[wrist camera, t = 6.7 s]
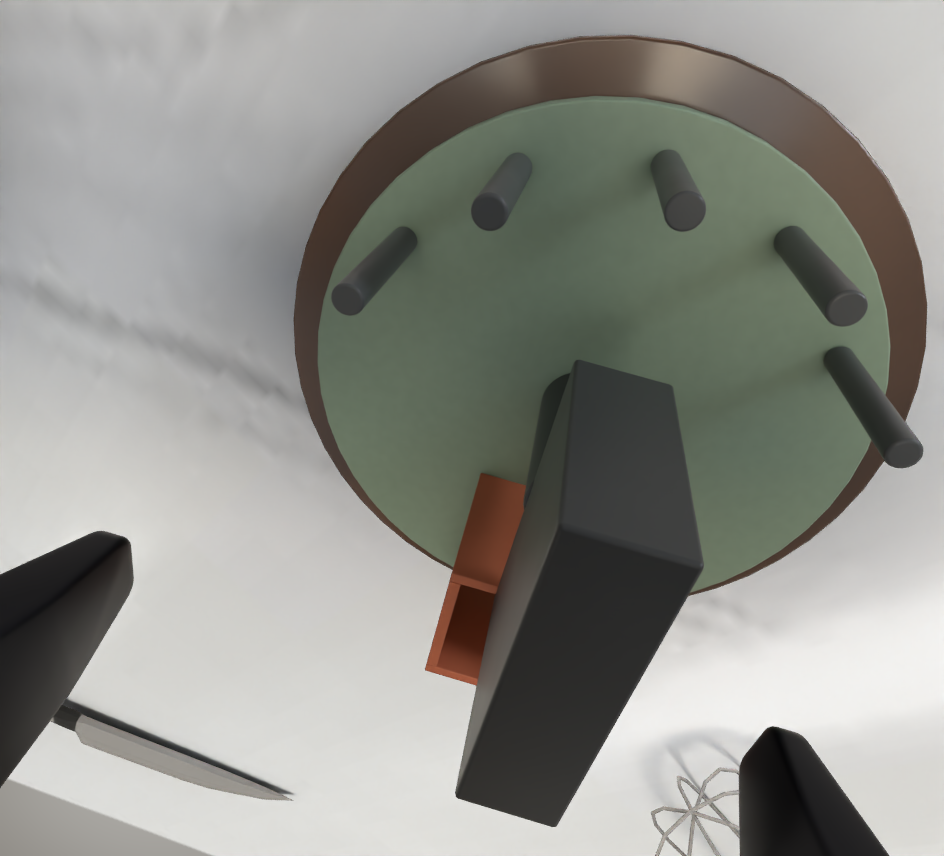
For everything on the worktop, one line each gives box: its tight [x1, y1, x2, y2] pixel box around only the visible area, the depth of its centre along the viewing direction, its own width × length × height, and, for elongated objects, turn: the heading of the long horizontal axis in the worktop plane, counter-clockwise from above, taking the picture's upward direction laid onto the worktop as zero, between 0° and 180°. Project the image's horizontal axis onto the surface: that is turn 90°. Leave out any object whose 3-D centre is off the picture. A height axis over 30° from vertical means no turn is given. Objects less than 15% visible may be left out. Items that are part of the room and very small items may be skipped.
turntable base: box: [294, 35, 927, 596], centre depth 20 cm, size 18×18×1 cm
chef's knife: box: [50, 705, 294, 801], centre depth 36 cm, size 19×1×3 cm
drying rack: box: [318, 96, 923, 827], centre depth 15 cm, size 16×16×11 cm
